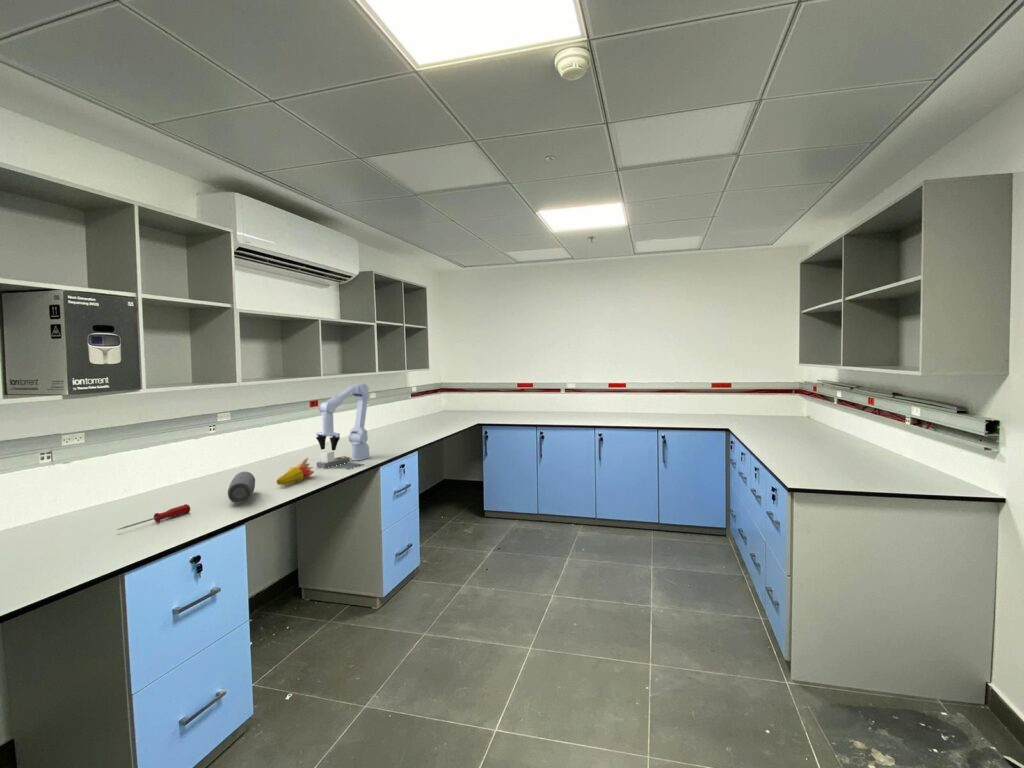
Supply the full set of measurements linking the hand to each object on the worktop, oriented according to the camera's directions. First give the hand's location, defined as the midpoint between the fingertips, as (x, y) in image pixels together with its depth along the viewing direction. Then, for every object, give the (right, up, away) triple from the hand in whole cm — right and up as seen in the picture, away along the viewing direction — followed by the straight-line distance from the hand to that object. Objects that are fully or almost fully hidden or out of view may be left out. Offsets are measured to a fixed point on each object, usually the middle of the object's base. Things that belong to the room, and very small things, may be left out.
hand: (328, 449), depth 266 cm
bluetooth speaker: (-14, -13, -60) cm, 63 cm away
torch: (-5, -12, -31) cm, 33 cm away
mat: (+10, -9, +2) cm, 14 cm away
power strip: (+1, -9, +5) cm, 11 cm away
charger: (-1, -8, +2) cm, 8 cm away
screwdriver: (-29, -15, -89) cm, 95 cm away
